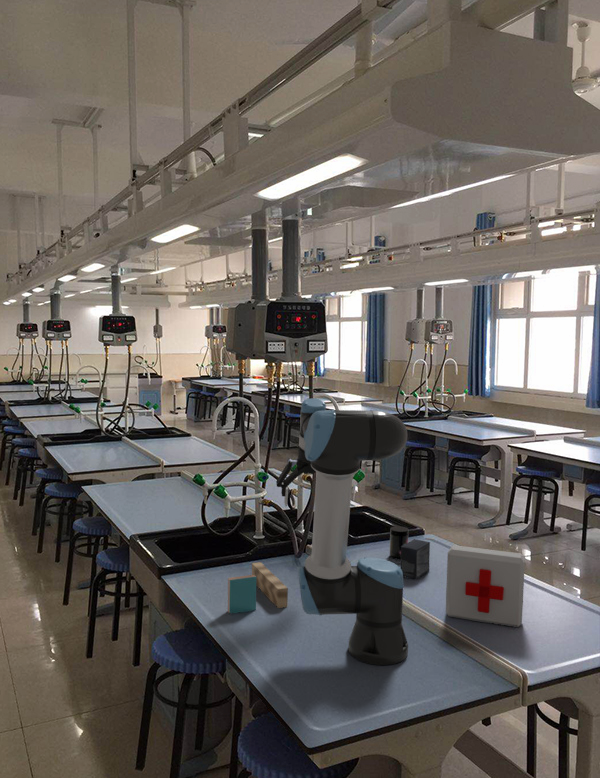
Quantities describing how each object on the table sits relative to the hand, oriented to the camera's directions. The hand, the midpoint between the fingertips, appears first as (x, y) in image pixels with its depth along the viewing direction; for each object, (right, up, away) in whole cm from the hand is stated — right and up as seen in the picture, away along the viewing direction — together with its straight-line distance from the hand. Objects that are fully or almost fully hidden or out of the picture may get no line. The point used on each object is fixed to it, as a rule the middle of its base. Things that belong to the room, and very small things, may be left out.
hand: (306, 503), depth 213 cm
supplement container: (+34, -25, +30) cm, 52 cm away
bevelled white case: (+51, -29, -24) cm, 63 cm away
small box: (+37, -26, +13) cm, 47 cm away
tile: (-19, -23, -21) cm, 36 cm away
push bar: (-12, -27, -7) cm, 30 cm away
